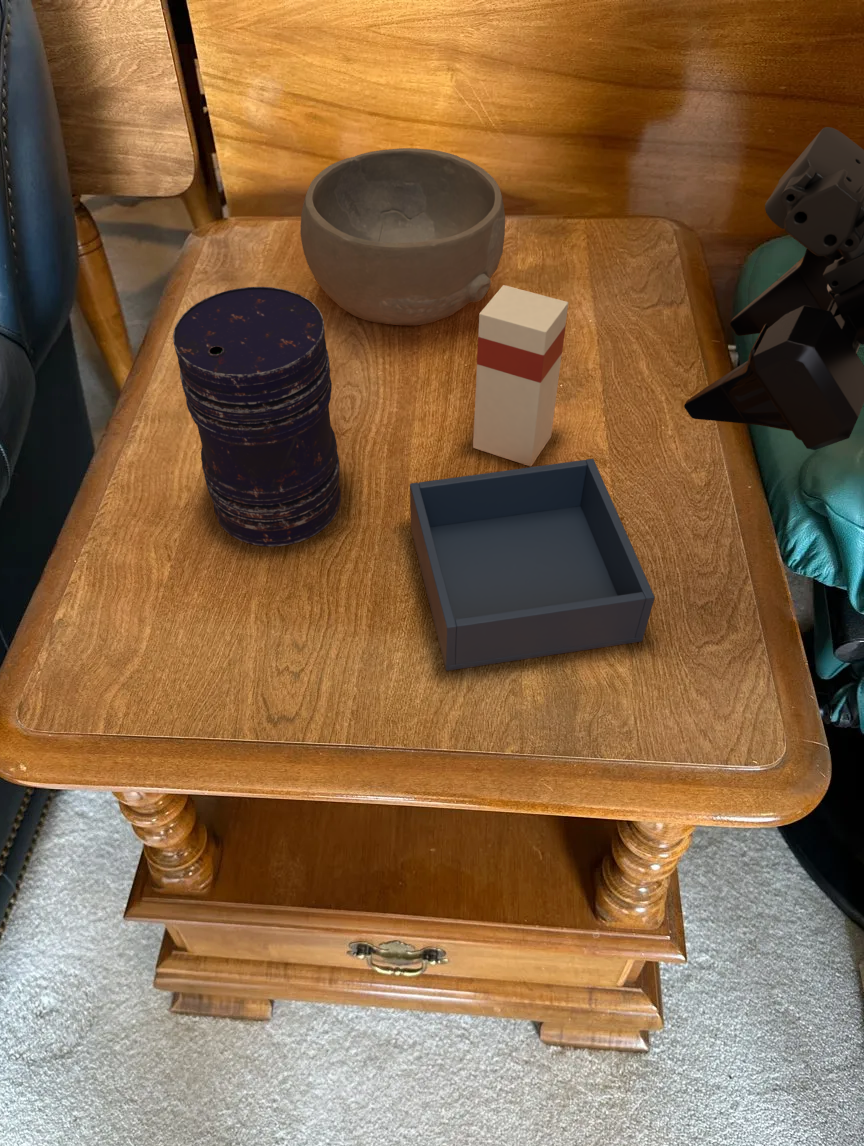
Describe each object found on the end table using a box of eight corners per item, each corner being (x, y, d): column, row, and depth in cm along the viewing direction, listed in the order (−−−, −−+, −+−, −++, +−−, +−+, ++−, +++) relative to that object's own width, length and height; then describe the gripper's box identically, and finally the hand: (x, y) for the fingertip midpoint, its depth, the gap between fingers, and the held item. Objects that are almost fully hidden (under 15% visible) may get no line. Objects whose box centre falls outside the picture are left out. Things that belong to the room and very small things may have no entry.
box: (585, 504, 71) (593, 458, 67) (642, 641, 63) (655, 597, 59) (410, 528, 70) (409, 483, 67) (445, 671, 62) (446, 627, 58)
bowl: (530, 325, 85) (540, 217, 77) (341, 371, 82) (332, 263, 74) (457, 232, 95) (459, 128, 88) (286, 270, 92) (273, 166, 84)
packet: (551, 436, 76) (569, 301, 66) (531, 467, 74) (546, 332, 64) (493, 418, 77) (503, 284, 68) (472, 448, 75) (478, 313, 66)
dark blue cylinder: (277, 440, 77) (249, 269, 65) (369, 492, 73) (358, 319, 61) (185, 508, 72) (138, 338, 61) (278, 568, 68) (247, 397, 56)
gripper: (946, 20, 49) (688, 189, 61) (867, 183, 39) (579, 345, 51) (1038, 203, 52) (777, 328, 65) (986, 395, 43) (691, 499, 55)
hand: (711, 367), depth 59 cm, fingers open, 9 cm apart
